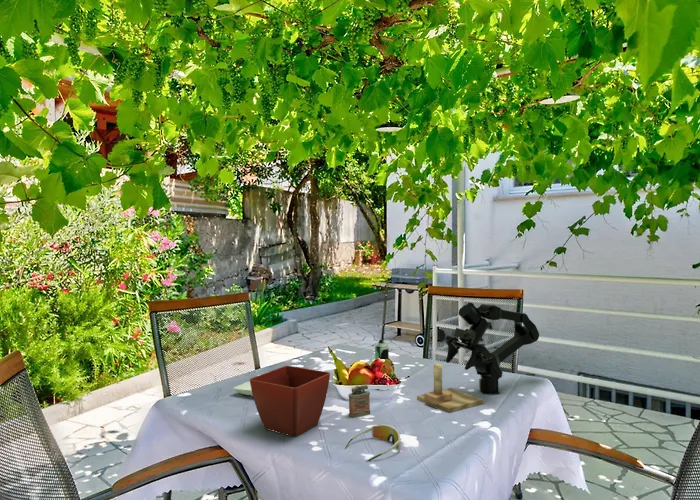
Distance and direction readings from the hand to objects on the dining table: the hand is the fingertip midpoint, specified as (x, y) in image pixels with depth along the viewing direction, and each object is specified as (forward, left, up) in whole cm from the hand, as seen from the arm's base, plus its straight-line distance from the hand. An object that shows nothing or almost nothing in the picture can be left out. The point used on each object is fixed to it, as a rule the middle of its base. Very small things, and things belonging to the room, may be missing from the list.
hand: (456, 365), depth 181 cm
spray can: (+28, -13, -13) cm, 33 cm away
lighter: (+36, +17, -13) cm, 41 cm away
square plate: (+69, -9, -13) cm, 71 cm away
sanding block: (+7, +6, -11) cm, 15 cm away
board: (+3, +3, -13) cm, 13 cm away
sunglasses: (+30, +44, -13) cm, 55 cm away
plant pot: (+57, +28, -13) cm, 65 cm away
